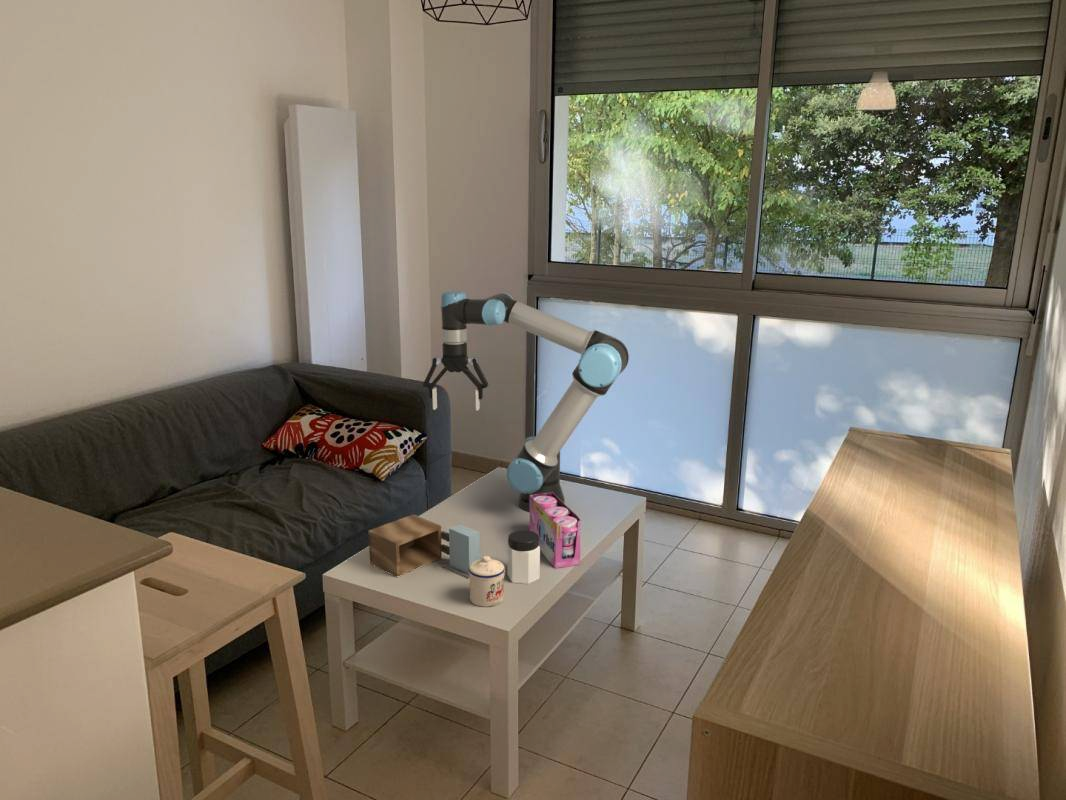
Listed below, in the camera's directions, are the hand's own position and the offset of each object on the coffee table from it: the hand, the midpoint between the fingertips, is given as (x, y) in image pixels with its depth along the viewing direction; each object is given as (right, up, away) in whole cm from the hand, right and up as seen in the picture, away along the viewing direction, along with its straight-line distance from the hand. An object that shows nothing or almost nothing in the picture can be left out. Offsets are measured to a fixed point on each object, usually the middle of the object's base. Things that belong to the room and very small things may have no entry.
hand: (456, 409), depth 258 cm
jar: (+21, -45, -36) cm, 62 cm away
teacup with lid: (+13, -48, -46) cm, 68 cm away
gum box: (+30, -41, -19) cm, 54 cm away
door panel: (+5, -43, -31) cm, 54 cm away
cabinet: (-5, -43, -30) cm, 53 cm away
